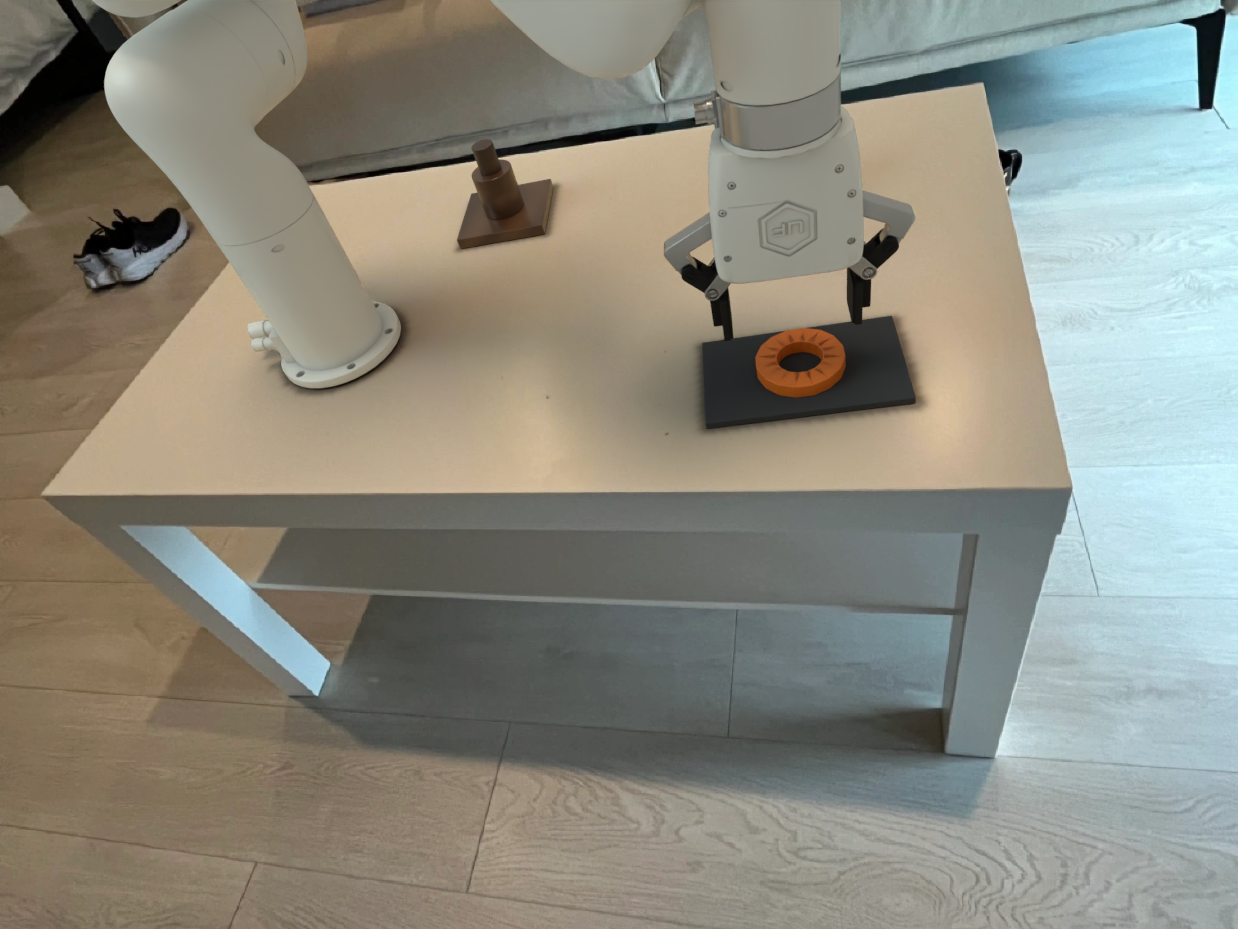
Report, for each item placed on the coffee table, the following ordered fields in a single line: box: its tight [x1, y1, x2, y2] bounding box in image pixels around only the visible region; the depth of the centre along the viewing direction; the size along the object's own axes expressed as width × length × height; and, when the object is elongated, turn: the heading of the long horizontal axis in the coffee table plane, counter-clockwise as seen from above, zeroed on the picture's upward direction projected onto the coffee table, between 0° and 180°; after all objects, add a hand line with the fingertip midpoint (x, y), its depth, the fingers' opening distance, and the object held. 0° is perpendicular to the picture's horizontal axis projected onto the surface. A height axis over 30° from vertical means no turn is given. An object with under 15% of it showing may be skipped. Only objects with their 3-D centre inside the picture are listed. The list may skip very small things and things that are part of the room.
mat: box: [701, 315, 917, 429], centre depth 67 cm, size 16×10×1 cm, turn 88°
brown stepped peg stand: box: [456, 138, 554, 250], centre depth 91 cm, size 10×10×9 cm
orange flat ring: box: [755, 327, 846, 398], centre depth 66 cm, size 7×7×1 cm
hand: (790, 321), depth 63 cm, fingers open, 9 cm apart
